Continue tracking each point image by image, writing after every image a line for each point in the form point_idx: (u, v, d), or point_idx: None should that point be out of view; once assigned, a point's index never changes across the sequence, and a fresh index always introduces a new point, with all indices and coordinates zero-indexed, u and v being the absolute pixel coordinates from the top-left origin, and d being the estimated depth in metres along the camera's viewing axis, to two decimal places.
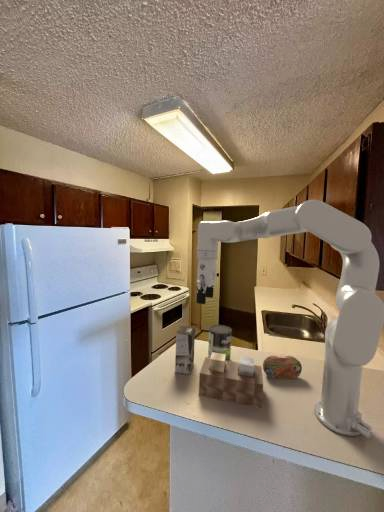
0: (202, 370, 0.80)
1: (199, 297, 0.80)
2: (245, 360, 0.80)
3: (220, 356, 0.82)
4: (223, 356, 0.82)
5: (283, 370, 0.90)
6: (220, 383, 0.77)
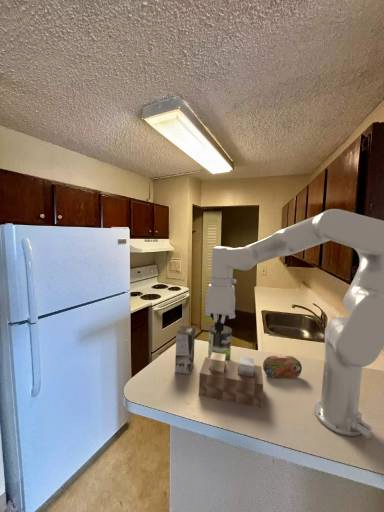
0: (202, 370, 0.80)
1: (223, 326, 0.80)
2: (245, 360, 0.80)
3: (220, 356, 0.82)
4: (223, 356, 0.82)
5: (283, 370, 0.90)
6: (220, 383, 0.77)
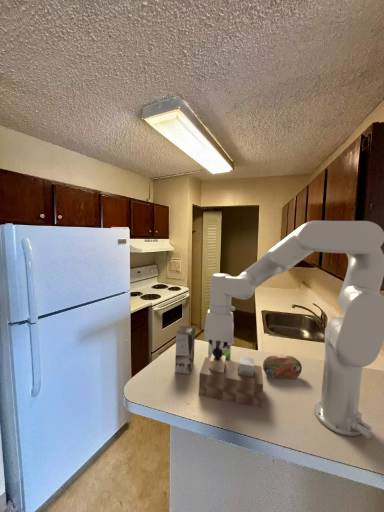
0: (202, 370, 0.80)
1: (221, 352, 0.81)
2: (245, 360, 0.80)
3: (220, 358, 0.82)
4: (223, 358, 0.82)
5: (283, 370, 0.90)
6: (220, 383, 0.77)
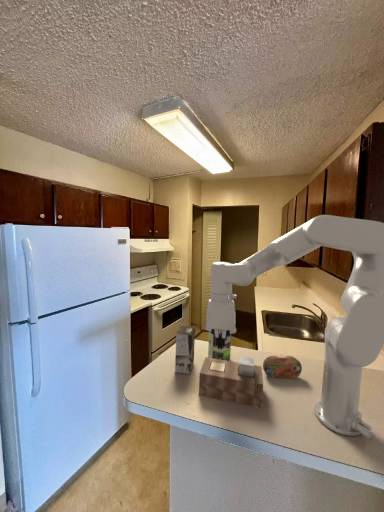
0: (202, 370, 0.80)
1: (224, 341, 0.81)
2: (245, 360, 0.80)
3: (220, 366, 0.82)
4: (223, 366, 0.82)
5: (283, 370, 0.90)
6: (220, 383, 0.77)
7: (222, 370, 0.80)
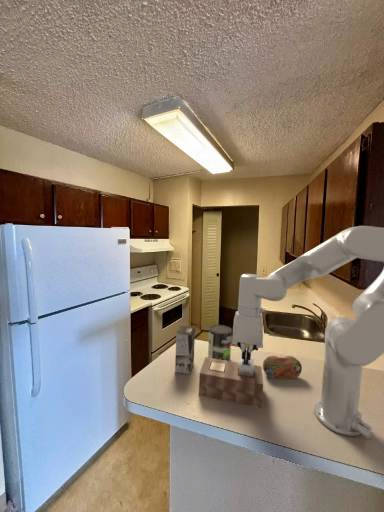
0: (202, 370, 0.80)
1: (250, 356, 0.79)
2: None
3: (220, 366, 0.82)
4: (223, 366, 0.82)
5: (283, 370, 0.90)
6: (220, 383, 0.77)
7: (222, 370, 0.80)
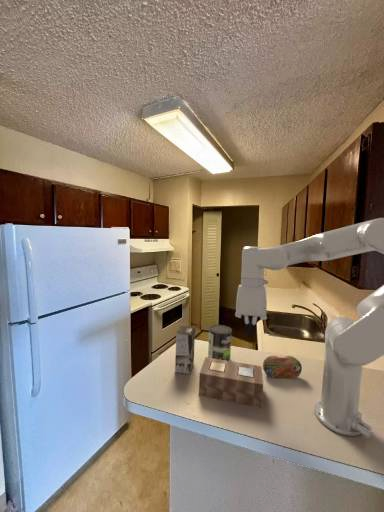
0: (202, 370, 0.80)
1: (254, 328, 0.79)
2: (245, 370, 0.80)
3: (220, 366, 0.82)
4: (223, 366, 0.82)
5: (283, 370, 0.90)
6: (220, 383, 0.77)
7: (222, 370, 0.80)
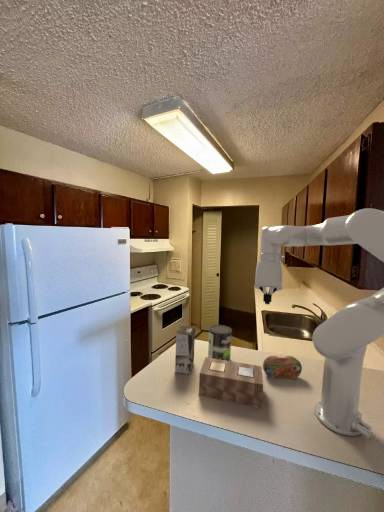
0: (202, 370, 0.80)
1: None
2: (245, 370, 0.80)
3: (220, 366, 0.82)
4: (223, 366, 0.82)
5: (283, 370, 0.90)
6: (220, 383, 0.77)
7: (222, 370, 0.80)
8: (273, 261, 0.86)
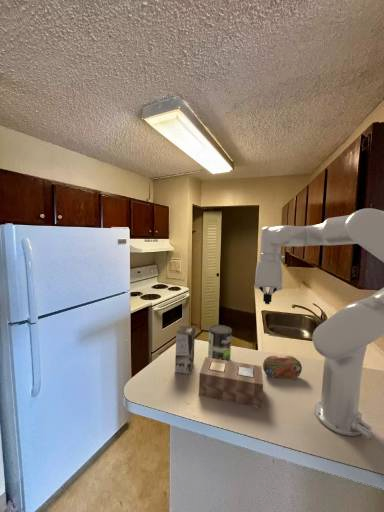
0: (202, 370, 0.80)
1: None
2: (245, 370, 0.80)
3: (220, 366, 0.82)
4: (223, 366, 0.82)
5: (283, 370, 0.90)
6: (220, 383, 0.77)
7: (222, 370, 0.80)
8: (273, 261, 0.86)
